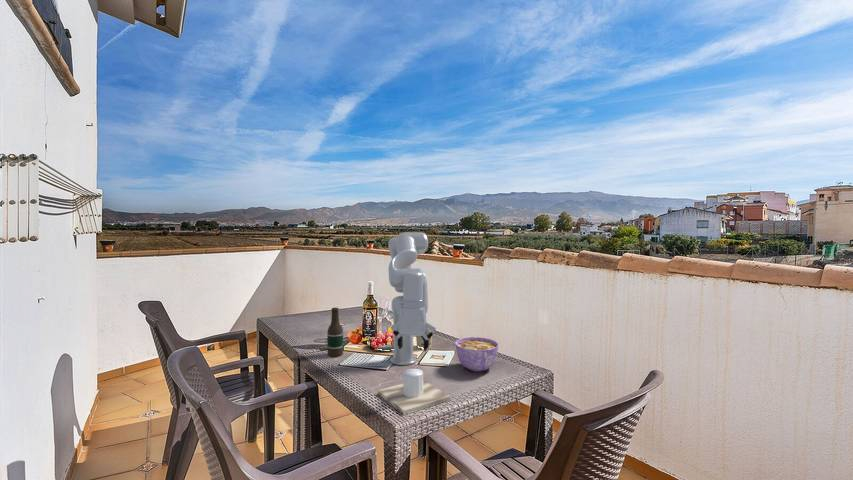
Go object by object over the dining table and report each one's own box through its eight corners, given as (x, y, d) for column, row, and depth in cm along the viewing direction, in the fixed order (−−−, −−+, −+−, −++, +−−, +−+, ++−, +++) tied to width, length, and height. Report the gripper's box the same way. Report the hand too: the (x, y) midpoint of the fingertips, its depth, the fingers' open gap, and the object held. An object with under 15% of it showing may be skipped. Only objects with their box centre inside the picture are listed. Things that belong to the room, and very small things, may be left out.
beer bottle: (346, 354, 195) (346, 307, 194) (335, 358, 188) (334, 310, 187) (335, 351, 199) (335, 305, 198) (324, 355, 192) (323, 308, 191)
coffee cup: (419, 351, 200) (419, 328, 199) (412, 346, 208) (412, 324, 208) (435, 348, 203) (435, 326, 203) (428, 343, 212) (428, 322, 211)
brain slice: (361, 346, 208) (361, 341, 208) (387, 341, 218) (387, 335, 218) (379, 356, 193) (379, 350, 192) (407, 349, 203) (407, 344, 203)
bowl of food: (498, 378, 163) (498, 351, 163) (452, 374, 167) (452, 348, 167) (499, 362, 183) (499, 338, 183) (457, 359, 187) (457, 335, 187)
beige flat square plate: (377, 394, 148) (377, 376, 148) (420, 382, 159) (420, 365, 159) (404, 415, 131) (404, 395, 131) (450, 400, 143) (450, 381, 142)
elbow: (401, 396, 142) (401, 375, 142) (408, 384, 153) (408, 364, 153) (420, 398, 141) (420, 376, 141) (426, 386, 152) (426, 366, 151)
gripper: (388, 305, 142) (388, 350, 143) (433, 307, 139) (433, 353, 140) (393, 301, 149) (393, 344, 150) (437, 302, 146) (437, 346, 147)
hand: (413, 348), depth 145 cm, fingers open, 9 cm apart
